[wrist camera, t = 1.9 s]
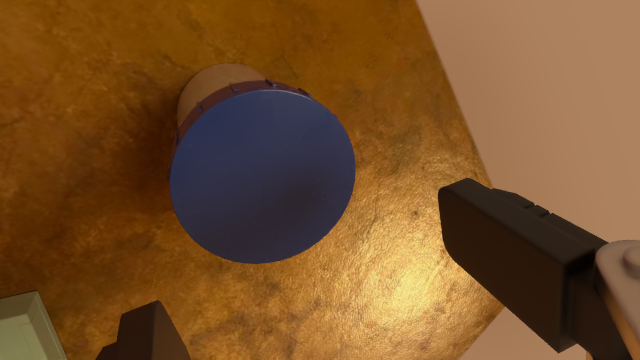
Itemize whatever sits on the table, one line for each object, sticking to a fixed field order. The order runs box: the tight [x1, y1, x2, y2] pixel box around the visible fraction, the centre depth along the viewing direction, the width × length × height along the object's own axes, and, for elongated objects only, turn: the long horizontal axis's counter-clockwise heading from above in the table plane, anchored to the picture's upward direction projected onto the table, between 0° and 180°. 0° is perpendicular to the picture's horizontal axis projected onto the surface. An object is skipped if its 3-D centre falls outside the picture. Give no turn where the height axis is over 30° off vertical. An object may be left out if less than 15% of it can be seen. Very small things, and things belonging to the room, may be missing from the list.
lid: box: [167, 78, 355, 264], centre depth 15 cm, size 7×7×2 cm
